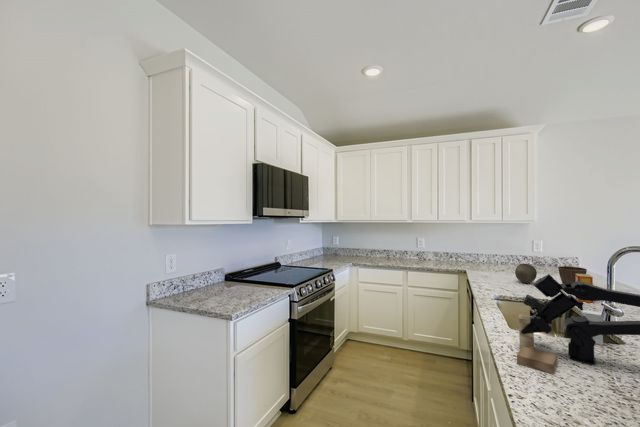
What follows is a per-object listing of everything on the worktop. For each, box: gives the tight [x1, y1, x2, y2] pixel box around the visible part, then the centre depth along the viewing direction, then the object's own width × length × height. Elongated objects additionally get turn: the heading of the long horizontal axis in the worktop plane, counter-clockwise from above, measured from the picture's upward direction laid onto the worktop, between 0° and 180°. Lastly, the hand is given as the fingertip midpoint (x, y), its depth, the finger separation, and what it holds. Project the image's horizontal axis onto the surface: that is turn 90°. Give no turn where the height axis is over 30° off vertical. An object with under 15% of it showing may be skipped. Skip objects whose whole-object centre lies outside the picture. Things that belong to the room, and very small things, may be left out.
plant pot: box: [557, 265, 588, 284], centre depth 200 cm, size 15×15×16 cm
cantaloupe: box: [514, 263, 538, 284], centre depth 226 cm, size 14×14×15 cm
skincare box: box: [581, 309, 604, 346], centre depth 119 cm, size 6×4×12 cm
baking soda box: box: [575, 273, 594, 304], centre depth 177 cm, size 10×6×16 cm
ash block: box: [518, 314, 535, 350], centre depth 114 cm, size 4×6×12 cm
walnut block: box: [516, 346, 558, 375], centre depth 102 cm, size 10×10×4 cm
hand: (522, 330), depth 115 cm, fingers closed on ash block, 5 cm apart
